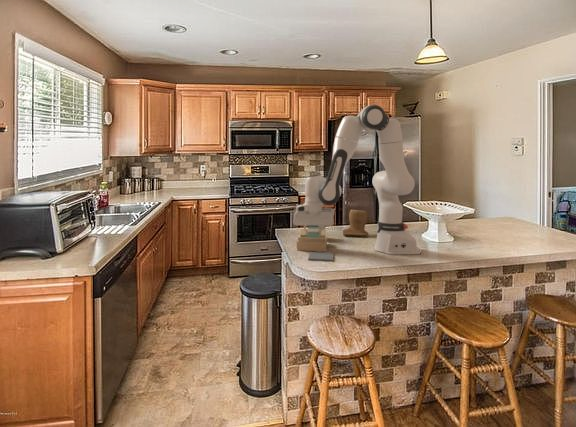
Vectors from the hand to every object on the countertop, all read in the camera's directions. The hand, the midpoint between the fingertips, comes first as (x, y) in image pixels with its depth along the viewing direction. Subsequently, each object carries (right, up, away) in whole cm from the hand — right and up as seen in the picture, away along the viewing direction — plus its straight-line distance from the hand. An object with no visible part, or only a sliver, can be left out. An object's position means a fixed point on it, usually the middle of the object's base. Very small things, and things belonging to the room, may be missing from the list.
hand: (313, 234), depth 196 cm
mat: (+2, -10, -17) cm, 20 cm away
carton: (-1, -7, +1) cm, 7 cm away
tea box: (0, -5, +1) cm, 5 cm away
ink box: (+3, -4, +18) cm, 19 cm away
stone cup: (+26, -2, +29) cm, 39 cm away
